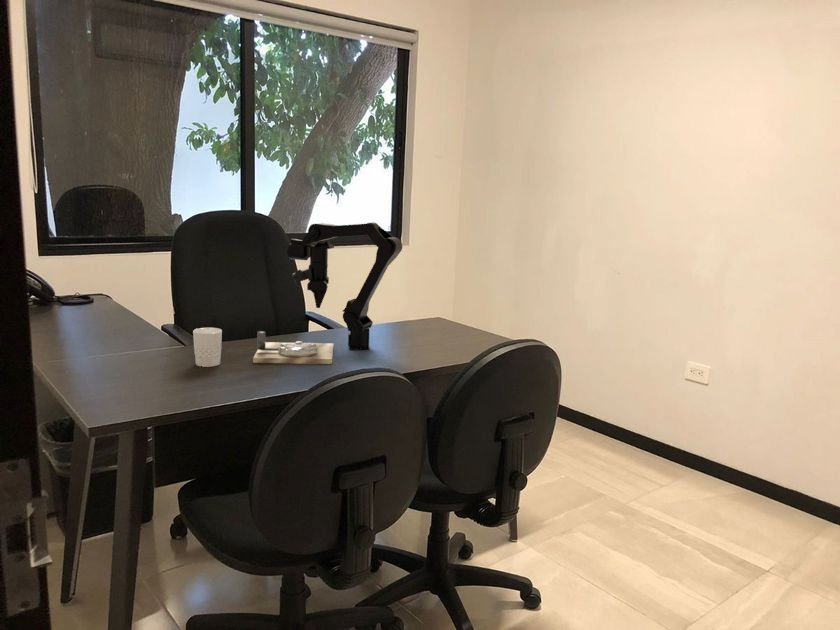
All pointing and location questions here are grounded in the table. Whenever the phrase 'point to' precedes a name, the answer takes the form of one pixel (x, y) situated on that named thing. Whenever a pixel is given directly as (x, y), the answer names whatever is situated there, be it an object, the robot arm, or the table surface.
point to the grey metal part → (288, 347)
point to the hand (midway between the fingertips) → (318, 307)
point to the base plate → (273, 357)
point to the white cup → (207, 346)
